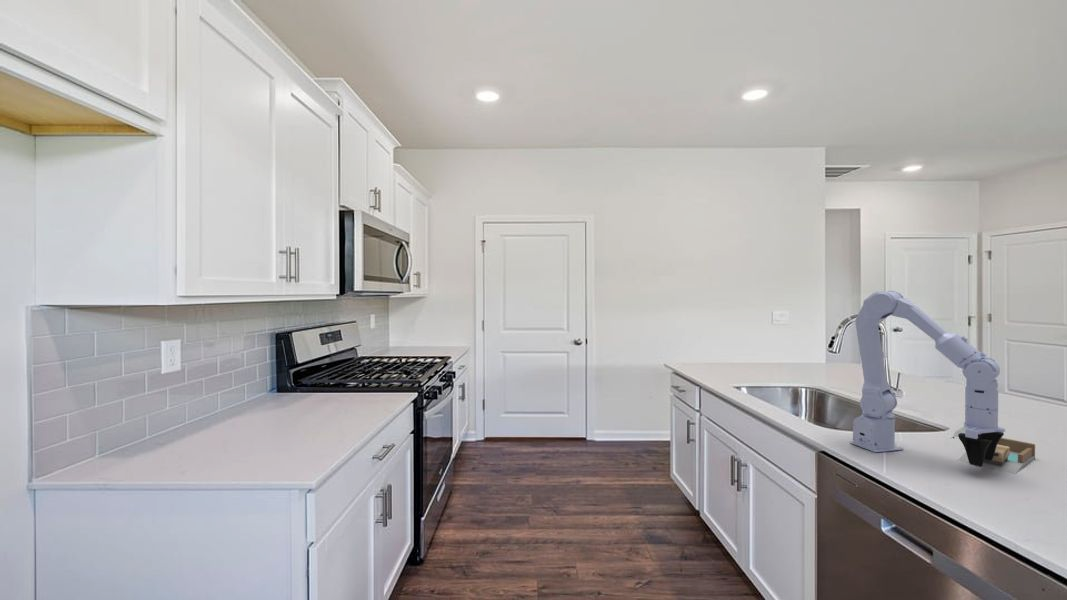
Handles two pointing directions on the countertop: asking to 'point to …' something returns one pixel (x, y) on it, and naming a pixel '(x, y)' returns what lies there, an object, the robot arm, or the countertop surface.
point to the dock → (1016, 447)
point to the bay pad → (1013, 458)
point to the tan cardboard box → (999, 455)
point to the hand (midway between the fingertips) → (980, 462)
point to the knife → (959, 432)
